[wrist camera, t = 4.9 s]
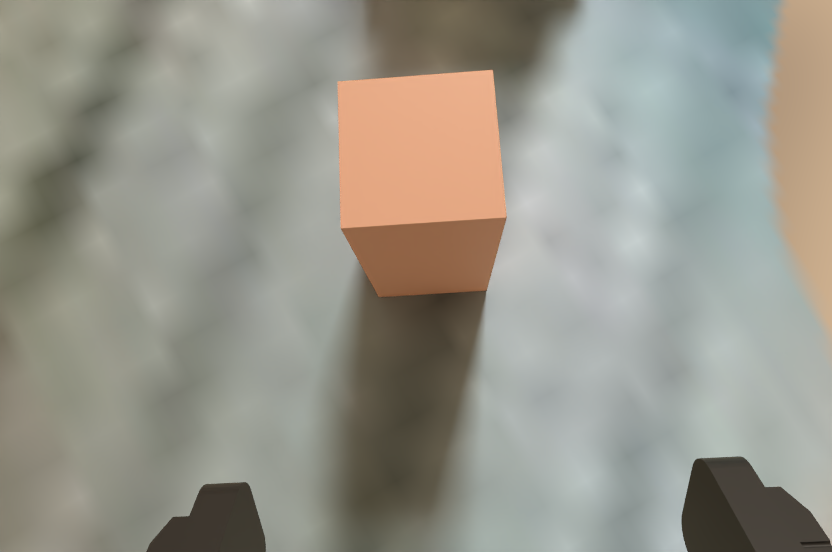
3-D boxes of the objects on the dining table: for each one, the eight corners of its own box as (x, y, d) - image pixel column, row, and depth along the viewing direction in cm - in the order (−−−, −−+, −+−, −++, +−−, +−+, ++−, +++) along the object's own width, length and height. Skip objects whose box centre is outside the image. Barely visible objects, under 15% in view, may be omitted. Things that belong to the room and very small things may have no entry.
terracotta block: (486, 290, 25) (506, 217, 16) (378, 297, 25) (341, 228, 16) (478, 189, 26) (492, 69, 17) (375, 196, 26) (337, 81, 17)
